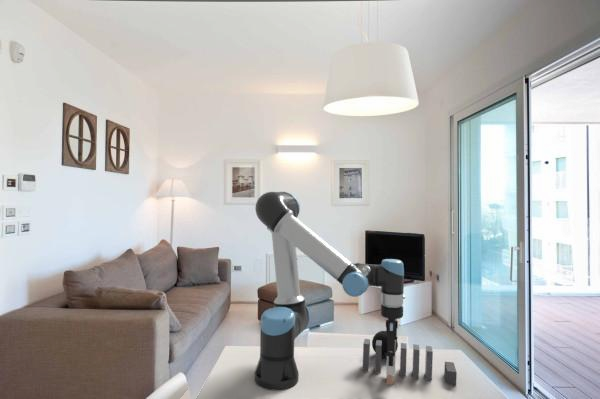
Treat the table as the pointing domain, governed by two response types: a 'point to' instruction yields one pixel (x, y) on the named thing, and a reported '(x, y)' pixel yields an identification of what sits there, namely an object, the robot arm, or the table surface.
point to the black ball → (383, 338)
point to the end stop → (450, 373)
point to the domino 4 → (403, 359)
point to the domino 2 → (378, 356)
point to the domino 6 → (428, 363)
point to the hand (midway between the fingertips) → (391, 365)
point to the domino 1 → (366, 354)
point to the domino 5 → (415, 361)
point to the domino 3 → (390, 379)
